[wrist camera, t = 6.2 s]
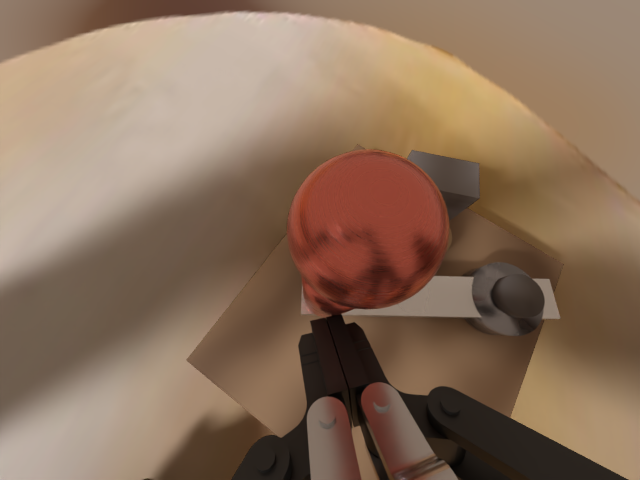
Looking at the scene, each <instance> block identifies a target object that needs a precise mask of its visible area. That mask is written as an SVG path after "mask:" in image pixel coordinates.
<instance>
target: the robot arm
mask: <svg viewBox="0 0 640 480" xmlns="http://www.w3.org/2000/svg"><path fill="white" fill-rule="evenodd" d="M310 324H311V329H312V333H308V334H304V335H301V338H300V341H299V344H298V348H299V354H300V361H301V367H302V374H303V381H304V387H305V394H306V400H307V408H306V412H305V415H304V417H303V419H302V420H301V422H300V423H299V424H298V425H297V426H296V427H295V428H294V429H293V430H291V431H290V432H289V433H287V434H286V435H284V436H283V437H282V438H280V437H278V436H275V435H269V436H265V437H263V438H261V439H259V440H258V441H257V442H255V443H254V445H253V446H252V447H251V448H250V450H249V451H248V453H247V455H246V456H245V458H244V460H243V461H242V463H241V464H240V466H239V468H238V469H237V471H236V473H235V474H234V476H233V478H232V479H231V480H362V479H361V475H360V470H359V465H358V460H357V456H356V451H355V446H354V442H353V437H352V429H351V428H353V427H352V423H353V426H354V427H357V426H360V427H361V430H362V434H363V437H364V442H365V449H366V452H367V454H368V457H369V460H370V462H371V465H372V468H373V470H374V473H375V475H376V478H377V480H628V479H626V478H624V477H622V476H620V475H618V474H616V473H614V472H612V471H611V470H609V469H607V468H605V467H603V466H601V465H599V464H597V463H595V462H593V461H591V460H590V459H588V458H586V457H584V456H582V455H580V454H578V453H576V452H574V451H572V450H570V449H568V448H567V447H565V446H563V445H561V444H559V443H557V442H555V441H553V440H551V439H549V438H547V437H546V436H544V435H542V434H540V433H538V432H536V431H534V430H532V429H530V428H528V427H526V426H525V425H523V424H521V423H519V422H517V421H515V420H513V419H511V418H509V417H507V416H505V415H504V414H502V413H500V412H498V411H496V410H494V409H492V408H490V407H488V406H486V405H484V404H483V403H481V402H479V401H477V400H475V399H473V398H471V397H469V396H467V395H465V394H463V393H461V392H460V391H458V390H456V389H453V388H451V387H446V386H439V387H436V388H434V389H432V390H431V391H430V393H429V394H428V395H415V394H407V393H403V392H401V391H399V390H397V389H396V388H394V387H393V386H392V385H391V384H390V383H389V381H388V380H387V378H386V376H385V374H384V372H383V370H382V368H381V366H380V364H379V362H378V360H377V358H376V356H375V353H374V351H373V349H372V348H371V345H370V343H369V341H368V340H367V337H366V335H365V333H364V331H363V329H362V328H361V327H360V326H359V325H357V324H356V323H355V322H353V323H349V324H345V322H344V319H343V317H342V315H341V314H339V315H332V316H328V317H326V318H325V317H324V318H320V319H316V320H311V321H310Z"/></svg>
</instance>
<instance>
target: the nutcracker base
mask: <svg viewBox="0 0 640 480" xmlns="http://www.w3.org/2000/svg"><path fill="white" fill-rule="evenodd" d="M355 150H367V149H365V148H363V147H362V146H360V145H358V144H357V146H356V147H355V148H354V149H353V151H355ZM407 159H408V160H410V161H411V162H413V163H414V164H416V165H417V166H419V167H420V168H421V169H422V170H423V171H424V172H425V173H427V174H428V175H429V177H430V178H431V179H432V180H433V181H434V183H435V184H436V186H437V187H438V189H439V191H440V192H441V194H442V196H443V199H444V202H445V204H446V208H447V212H448V216H449V225H450V228H449V241H448V246H447V251H446V254H445V256H444V259H443V261H442V263H441V265H440V267H439V269H438V271H437V273H436V274H435V275H434V276H456V277H462V276H463V275H464V274H465V273H466V272H468V271H470V270H473V269H475V268H478V267H481V266H484V265H487V264H490V263H494V262H503V263H508V264H511V265H514V266H516V267H518V268H520V269H521V270H523V271H524V272H525V273H526V274H528V275H529V276H530V277H531V278H530V277H528V276H526V275H523V274H513V275H509V276H505V277H502V278H500V279H498V280H497V281H496V282H495V284H494V286H493V291H492V293H493V298H494V301H495V303H496V305H497V306H498V308H499V309H500V310H501V311H502V312H504V313H505V314H507V315H508V316H511V317H515V318H523V317H534V316H537V315H538V314H540V313H541V312H542V310H543V308H544V304H545V299H544V294H543V292H542V290H541V288H540V286H539V285H538V284H537V283H536V282H535V281H534V280H533V279H549V280H550V283H551V287H552V290H553V294H554V291H555V288H556V285H557V282H558V279H559V276H560V274H561V271H562V268H563V265H564V264H563V263H561V262H559V261H557V260H556V259H554V258H552V257H551V256H549V255H547V254H545V253H544V252H542V251H540V250H539V249H537V248H535V247H533V246H532V245H530V244H528V243H527V242H525V241H523V240H521V239H520V238H518V237H516V236H515V235H513V234H511V233H509V232H508V231H506V230H504V229H502V228H501V227H499V226H497V225H496V224H494V223H492V222H490V221H489V220H487V219H485V218H484V217H482V216H480V215H478V214H477V213H475V212H473V211H472V210H470V209H468V208H467V207H469V206H470V205H471V204H473V203H474V202H475V201H477V200H478V199H479V198H480V188H479V163H475V162H469V161H464V160H459V159H454V158H449V157H444V156H439V155H434V154H429V153H424V152H419V151H414V150H412V151H411V153H410V154H409V156H408V158H407ZM301 298H302V277H301V274H300V272H299V271H298V269H297V268H296V266H295V263H294V261H293V259H292V257H291V253H290V250H289V246H288V239H287V234H286V235H285V236H284V238H283V239H282V240H281V241H280V243H279V244H278V245H277V246H276V248H275V249H274V250H273V251H272V253H271V254H270V255H269V256H268V258H267V259H266V260H265V262H264V263H263V264H262V265H261V267H260V268H259V269H258V270H257V272H256V273H255V274H254V275H253V277H252V278H251V279H250V280H249V282H248V283H247V284H246V285H245V287H244V288H243V289H242V291H241V292H240V293H239V294H238V296H237V297H236V298H235V299H234V301H233V302H232V303H231V304H230V306H229V307H228V308H227V309H226V311H225V312H224V313H223V314H222V316H221V317H220V318H219V320H218V321H217V322H216V323H215V325H214V326H213V327H212V328H211V330H210V331H209V332H208V333H207V335H206V336H205V337H204V338H203V340H202V341H201V342H200V343H199V345H198V346H197V347H196V349H195V350H194V351H193V352H192V354H191V355H190V356H189V357H188V359H187V361H188V362H189V363H190V364H191V365H193V366H194V367H195V368H196V369H197V370H199V371H200V372H201V373H202V374H203V375H205V376H206V377H207V378H208V379H209V380H211V381H212V382H213V383H214V384H215V385H217V386H218V387H219V388H220V389H221V390H223V391H224V392H225V393H226V394H227V395H229V396H230V397H231V398H232V399H234V400H235V401H236V402H237V403H238V404H240V405H241V406H242V407H243V408H244V409H246V410H247V411H248V412H249V413H250V414H252V415H253V416H254V417H255V418H256V419H258V420H259V421H260V422H261V423H262V424H264V425H265V426H266V427H267V428H268V429H270V430H271V431H272V432H273V433H274V434H276V435H277V436H278V437H280V438H282V437H283V436H284V435H286V434H287V433H289V432H290V431H291V430H293V429H294V428H295V427H296V426H297V425H298V424H299V423H300V422H301V420H302V419H303V417H304V415H305V412H306V408H307V400H306V394H305V387H304V381H303V374H302V367H301V361H300V354H299V348H298V344H299V341H300V338H301V335H304V334H308V333H312V329H311V324H310V321H311V320H316V319H320V318H323V317H320V316H317V315H301ZM342 317H343V319H344V322H345V324H349V323H353V322H355V323H356V324H357V325H359V326H360V327H361V328H362V329H363V331H364V333H365V335H366V337H367V340H368V341H369V343H370V345H371V348H372V349H373V351H374V353H375V356H376V358H377V360H378V362H379V364H380V366H381V368H382V370H383V372H384V374H385V376H386V378H387V380H388V381H389V383H390V384H391V385H392V386H393V387H394V388H396V389H397V390H399V391H401V392H403V393H407V394H415V395H428V394H429V393H430V391H431V390H432V389H434V388H436V387H439V386H446V387H451V388H453V389H456V390H458V391H460V392H461V393H463V394H465V395H467V396H469V397H471V398H473V399H475V400H477V401H479V402H481V403H483V404H484V405H486V406H488V407H490V408H492V409H494V410H496V411H498V412H500V413H502V414H504V415H505V416H507V417H509V418H510V416H511V414H512V411H513V408H514V405H515V402H516V399H517V396H518V394H519V391H520V388H521V385H522V382H523V379H524V376H525V374H526V371H527V368H528V365H529V362H530V359H531V356H532V354H533V351H534V348H535V345H536V342H537V339H538V336H539V334H540V331H541V328H542V325H543V322H544V320H541V322H540V324H539V325H538V327H537V328H536V329H535V330H534V331H532V332H530V333H528V334H526V335H522V336H504V335H489V334H485V333H482V332H480V331H478V330H476V329H475V328H473V327H472V326H471V325H470V324H468V322H467V321H466V320H465V319H464V318H418V317H368V316H342ZM352 427H353V428H351V429H352V437H353V442H354V446H355V451H356V456H357V460H358V465H359V470H360V475H361V479H362V480H377V478H376V475H375V473H374V470H373V468H372V465H371V462H370V460H369V457H368V454H367V452H366V449H365V442H364V437H363V434H362V430H361V427H360V426H357V427H354V426H353V423H352Z"/></svg>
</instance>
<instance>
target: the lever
mask: <svg viewBox="0 0 640 480" xmlns="http://www.w3.org/2000/svg"><path fill="white" fill-rule="evenodd" d="M449 228H450V225H449V216H448V212H447V208H446V204H445V202H444V199H443V196H442V194H441V192H440V191H439V189H438V187H437V186H436V184H435V183H434V181H433V180H432V179H431V178H430V177H429V175H428V174H427V173H425V172H424V171H423V170H422V169H421V168H420V167H419V166H417V165H416V164H414V163H413V162H411V161H410V160H408V159H406V158H404V157H402V156H400V155H397V154H394V153H391V152H386V151H381V150H372V149H368V150H355V151H351V152H347V153H344V154H341V155H338V156H335V157H333V158H331V159H329V160H327V161H326V162H324V163H323V164H321V165H320V166H319V167H317V168H316V169H315V170H314V171H313V172H312V173H311V174H309V176H308V177H307V178H306V179H305V180H304V182H303V183H302V184H301V186H300V187H299V189H298V191H297V192H296V194H295V196H294V199H293V201H292V204H291V207H290V211H289V214H288V221H287V239H288V246H289V250H290V253H291V257H292V259H293V261H294V263H295V266H296V268H297V269H298V271H299V272H300V274H301V277H302V298H301V315H317V316H320V317H323V318H324V317H325V318H326V317H328V316H332V315H339V314H341V315H342V316H368V317H418V318H464V319H465V320H466V321H467V322H468V324H470V325H471V326H472V327H473V328H475V329H476V330H478V331H480V332H482V333H485V334H489V335H504V336H522V335H526V334H528V333H530V332H532V331H534V330H535V329H536V328H537V327H538V325H539V324H540V322H541V320H544V319H561V318H560V315H559V311H558V308H557V304H556V301H555V297H554V294H553V290H552V287H551V283H550V280H549V279H533V280H534V281H535V282H536V283H537V284H538V285H539V286H540V288H541V290H542V292H543V294H544V299H545V304H544V308H543V310H542V312H541V313H540V314H538V315H537V316H534V317H523V318H515V317H511V316H508V315H507V314H505V313H504V312H502V311H501V310H500V309H499V308H498V306H497V305H496V303H495V301H494V298H493V293H492V291H493V286H494V284H495V282H496V281H497V280H498V279H500V278H502V277H505V276H509V275H513V274H523V275H526V276H528V277H530V276H529V275H528V274H526V273H525V272H524V271H523V270H521V269H520V268H518V267H516V266H514V265H511V264H508V263H503V262H494V263H490V264H487V265H484V266H481V267H478V268H475V269H473V270H470V271H468V272H466V273H465V274H464V275H463V276H462V277H456V276H434V275H435V274H436V273H437V271H438V269H439V267H440V265H441V263H442V261H443V259H444V256H445V254H446V251H447V246H448V241H449ZM530 278H531V277H530Z"/></svg>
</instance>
